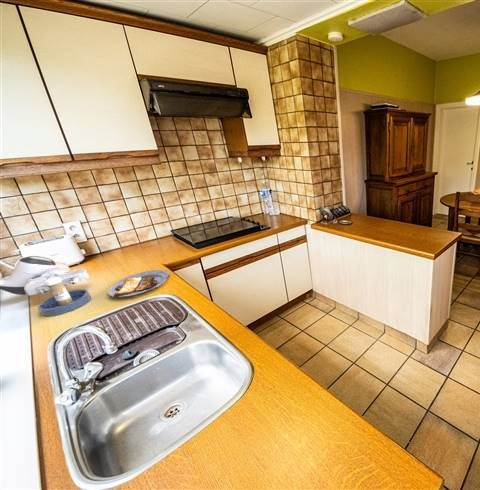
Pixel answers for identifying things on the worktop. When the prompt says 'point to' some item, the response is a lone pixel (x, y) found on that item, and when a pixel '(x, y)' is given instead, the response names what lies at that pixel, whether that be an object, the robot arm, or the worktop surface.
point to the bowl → (54, 308)
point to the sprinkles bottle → (59, 291)
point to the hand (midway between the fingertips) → (59, 286)
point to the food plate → (138, 283)
